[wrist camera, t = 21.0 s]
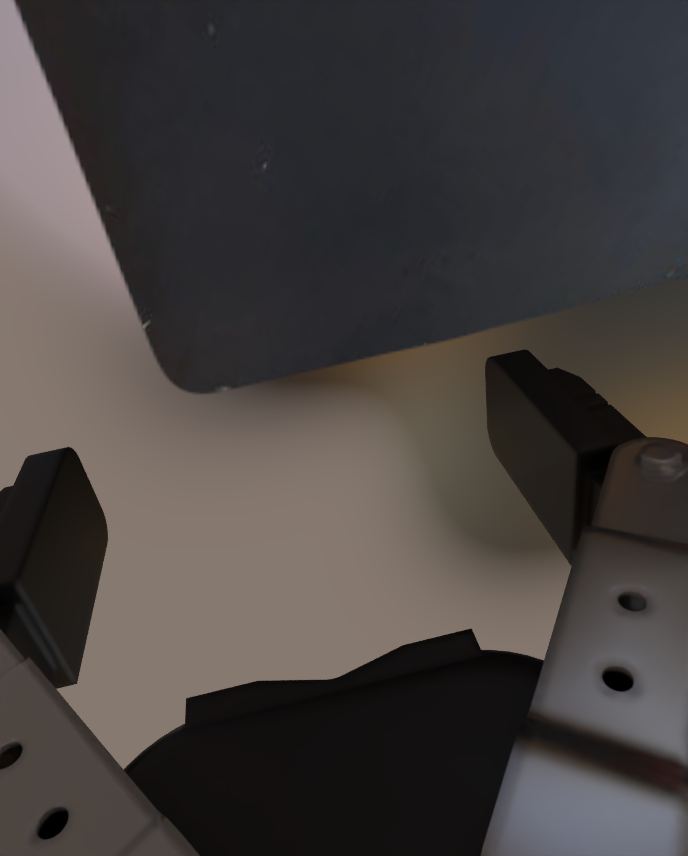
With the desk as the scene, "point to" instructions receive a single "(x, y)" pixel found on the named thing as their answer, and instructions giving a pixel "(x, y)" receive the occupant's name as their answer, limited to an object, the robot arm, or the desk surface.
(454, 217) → the desk surface
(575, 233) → the desk surface
